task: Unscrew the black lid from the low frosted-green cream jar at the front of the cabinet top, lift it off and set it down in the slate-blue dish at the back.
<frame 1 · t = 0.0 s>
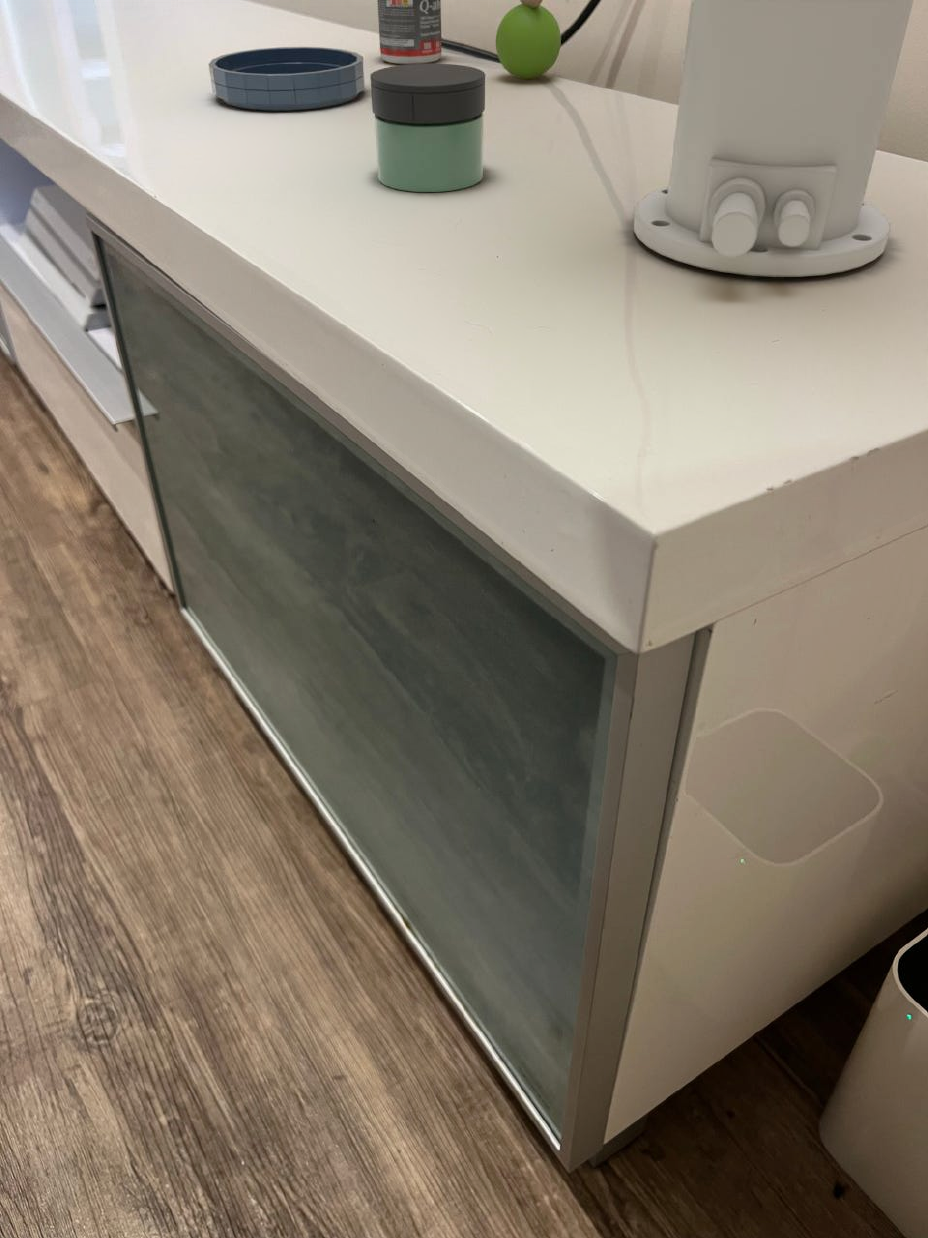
lid: (427, 80, 55), point 5 cm above the table, screwed on, not yet turned
green rounded piece: (524, 79, 81), on the table
jar: (430, 176, 58), on the table
pill bottle: (411, 61, 88), on the table
dish: (290, 95, 76), on the table
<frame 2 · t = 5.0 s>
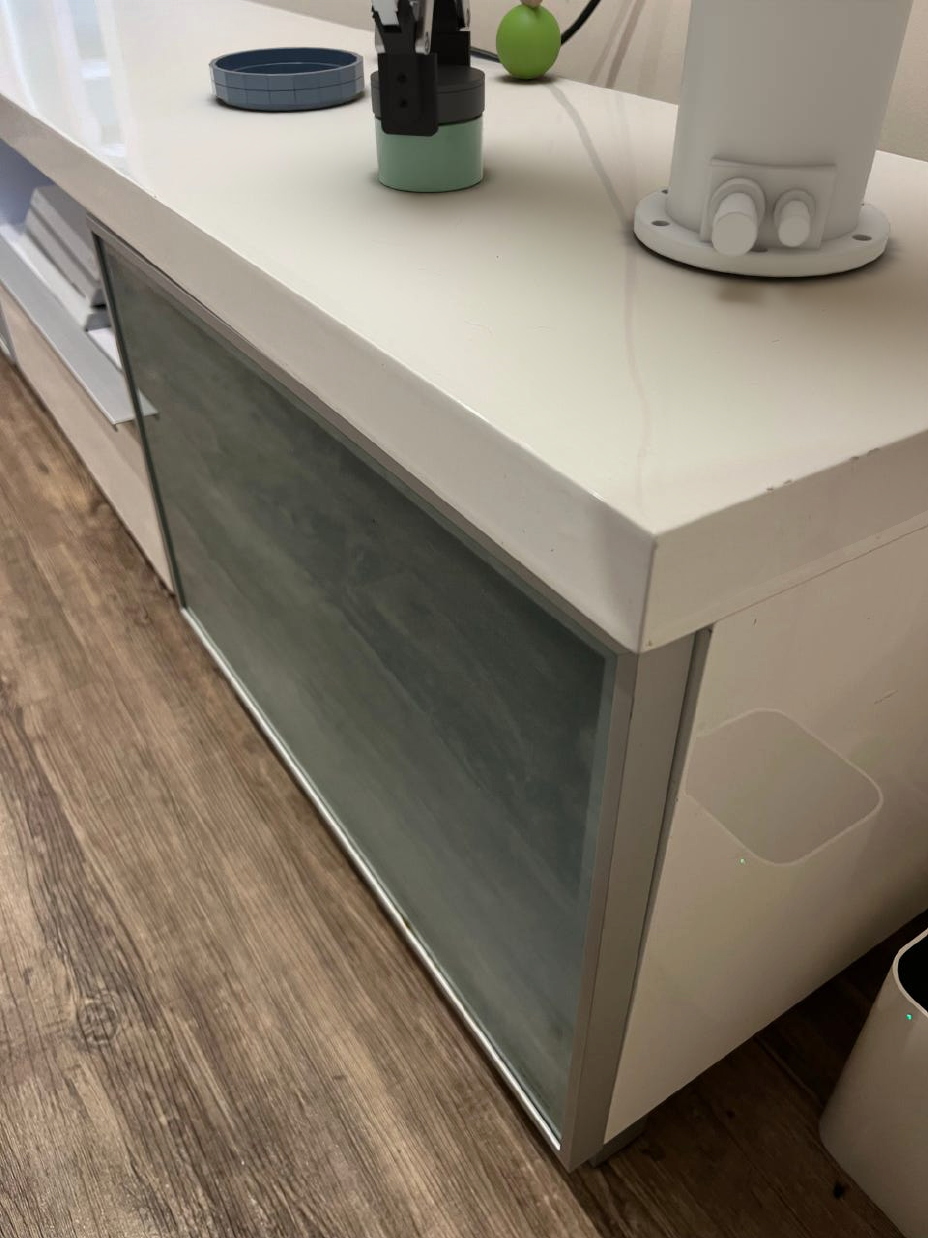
hand: (428, 116, 56), 3 cm above the table, tool pointing down, fingers closed on lid, 6 cm apart
lid: (427, 80, 55), point 5 cm above the table, screwed on, not yet turned, touching gripper
everything else where it was.
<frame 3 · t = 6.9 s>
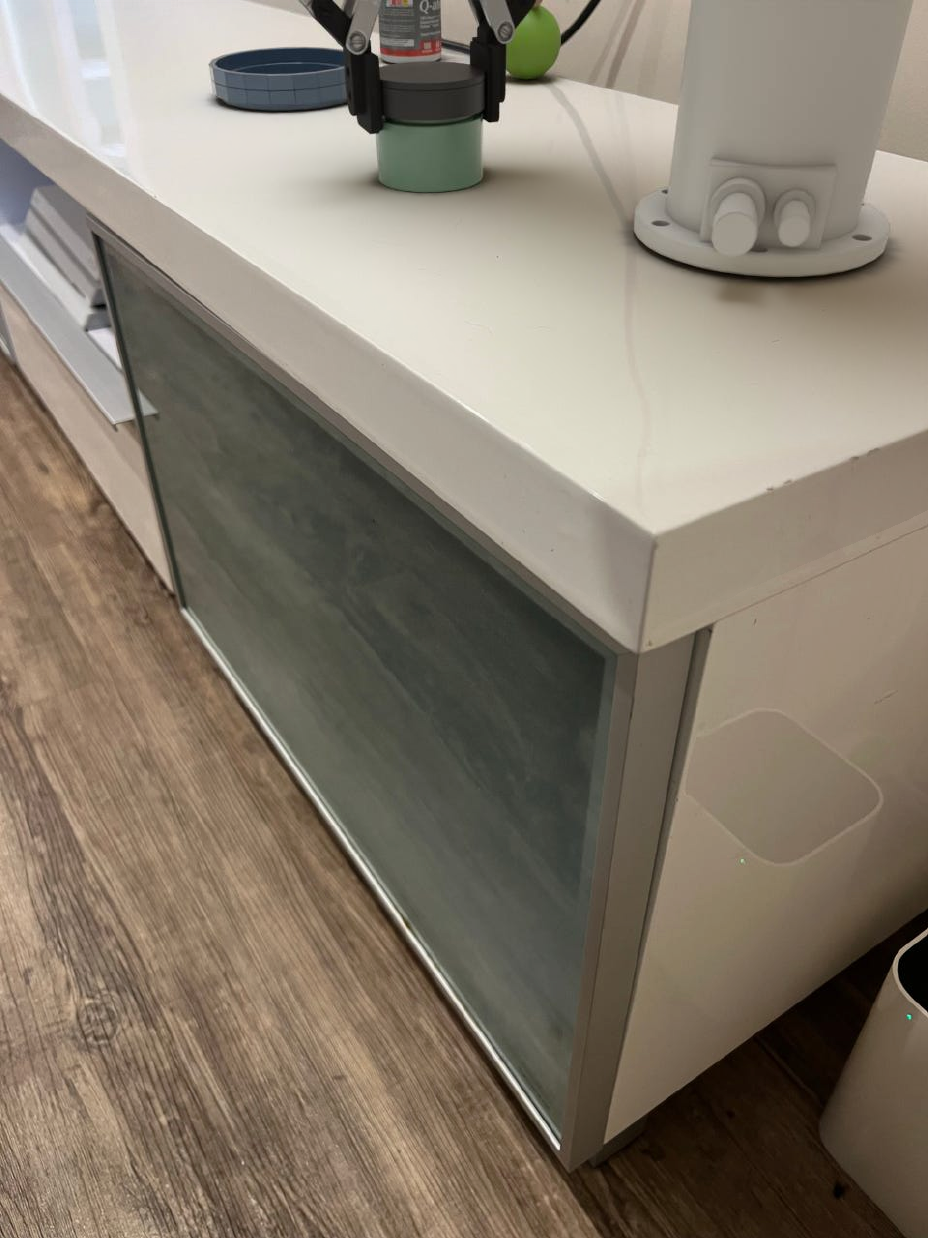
hand: (427, 120, 56), 3 cm above the table, tool pointing down, fingers closed on lid, 6 cm apart
lid: (427, 78, 54), point 5 cm above the table, turned 126° so far, risen 0.1 cm, still on its thread, touching gripper
jar: (430, 177, 58), on the table, touching gripper
everything else where it was.
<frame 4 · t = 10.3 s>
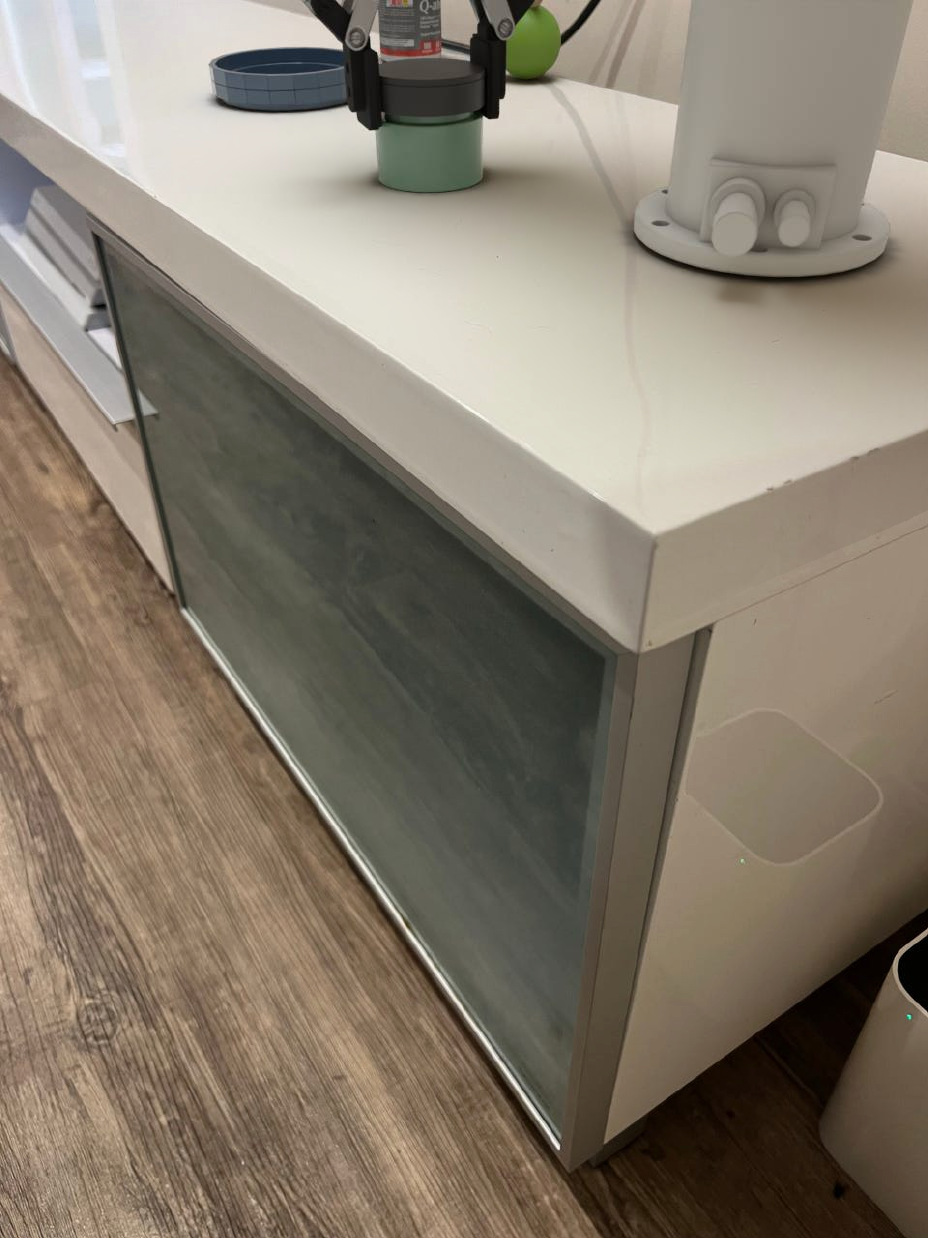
hand: (427, 116, 56), 3 cm above the table, tool pointing down, fingers closed on lid, 6 cm apart
lid: (427, 74, 54), point 5 cm above the table, turned 252° so far, risen 0.3 cm, still on its thread, touching gripper
everything else where it was.
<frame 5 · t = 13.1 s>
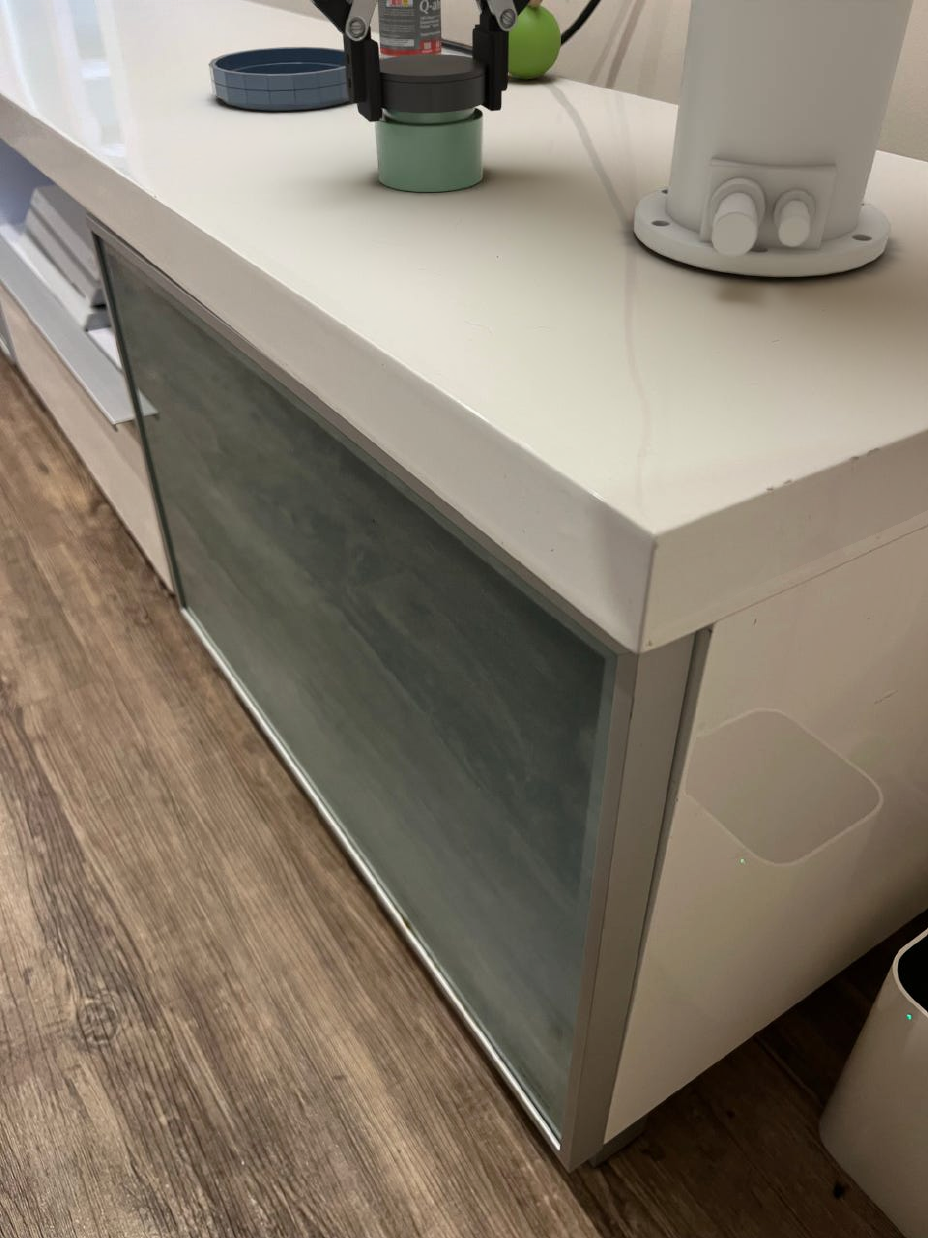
hand: (429, 108, 55), 4 cm above the table, tool pointing down, fingers closed on lid, 6 cm apart
lid: (428, 71, 54), point 6 cm above the table, off its thread, touching gripper
jar: (430, 176, 58), on the table
everything else where it was.
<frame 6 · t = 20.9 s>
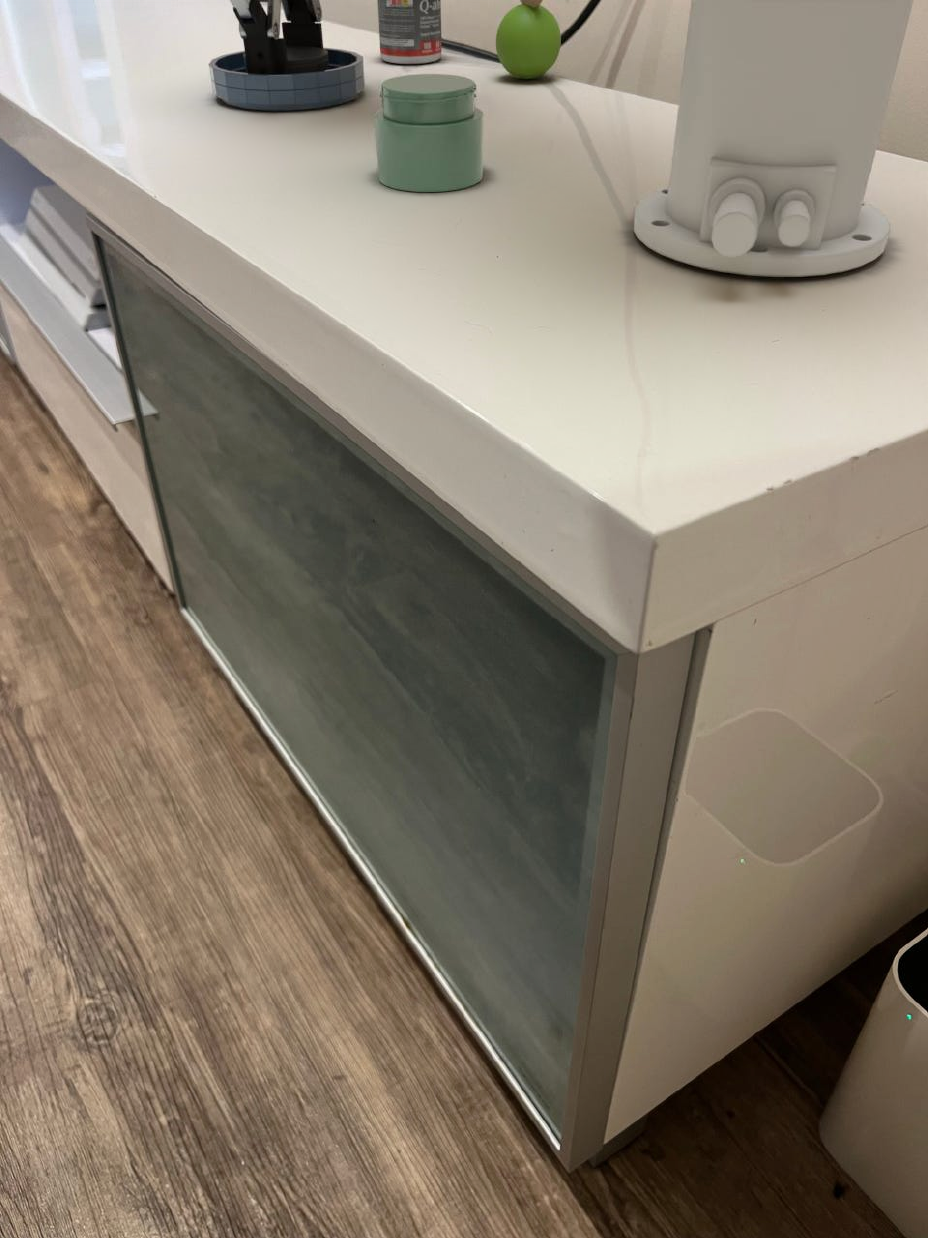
hand: (289, 85, 76), 1 cm above the table, tool pointing down, fingers closed on lid, 6 cm apart
lid: (286, 57, 74), point 3 cm above the table, off its thread, touching gripper
everything else where it was.
when the fingers open (3 cm above the table, at t = 37.4 s): lid drops 3 cm, resting on dish.
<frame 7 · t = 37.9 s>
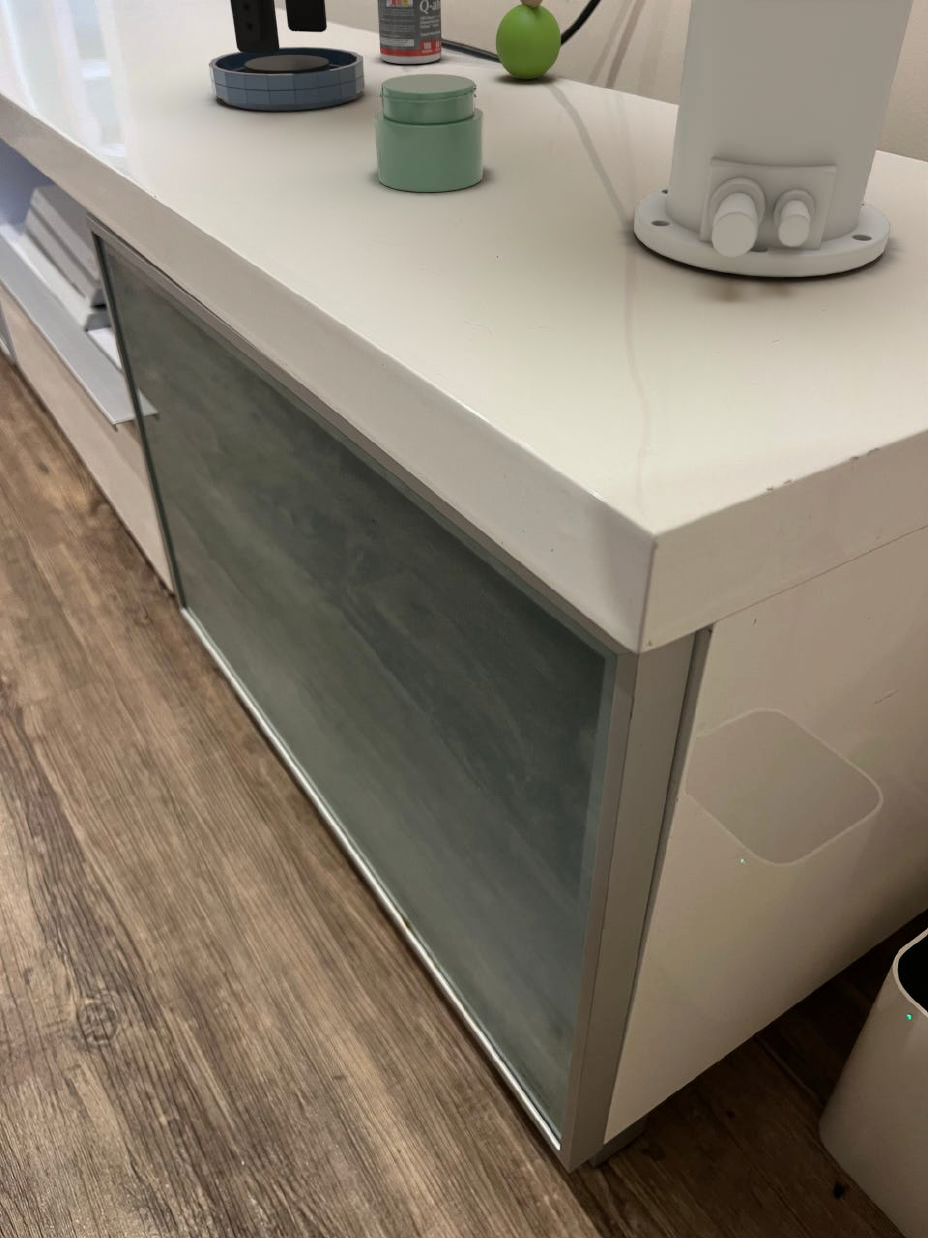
hand: (284, 40, 74), 4 cm above the table, tool pointing down, fingers open, 9 cm apart
lid: (287, 67, 75), point 2 cm above the table, off its thread, touching dish
everything else where it was.
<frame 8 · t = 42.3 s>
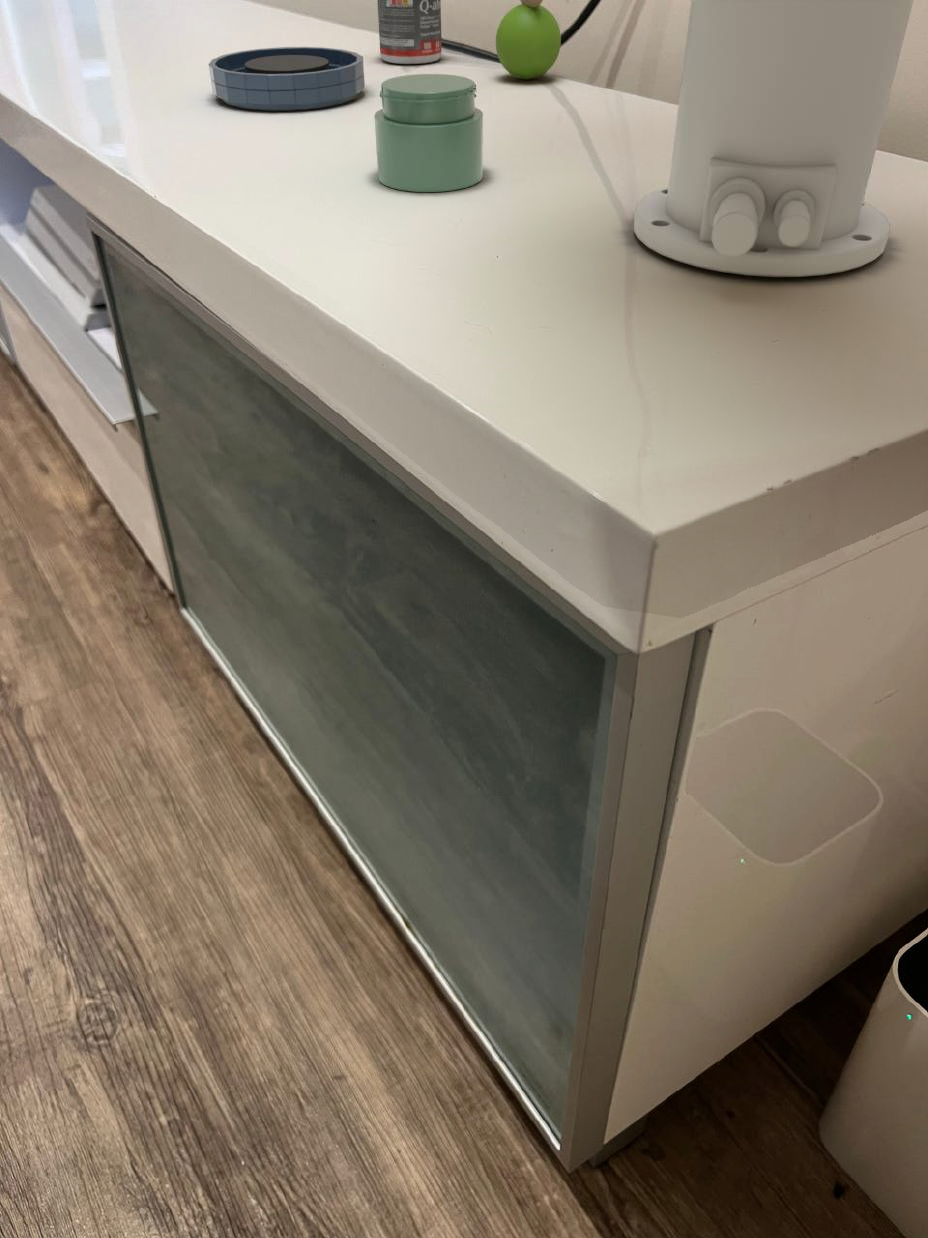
nothing on the table moved.
at the end: lid came off its thread; lid inside the target area in the dish (0.0 cm from its centre), point 2.0 cm above the dish's base; the gripper is holding nothing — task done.
